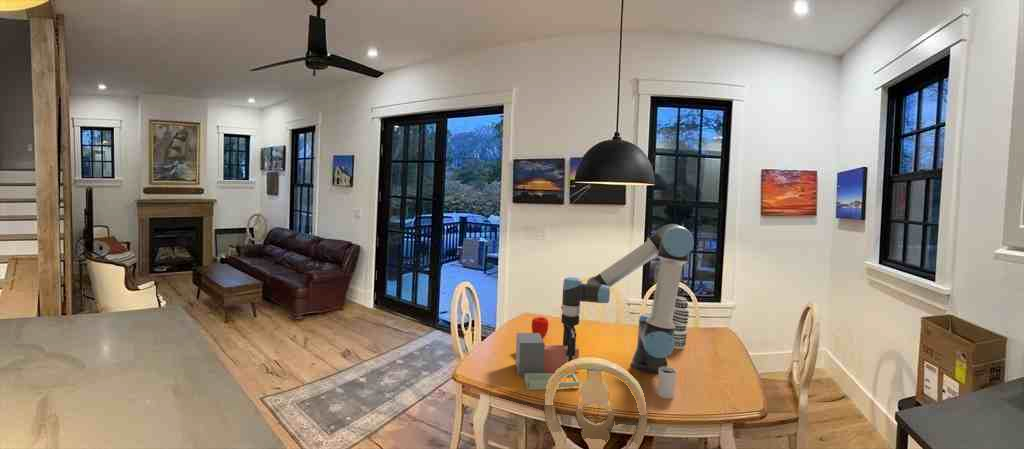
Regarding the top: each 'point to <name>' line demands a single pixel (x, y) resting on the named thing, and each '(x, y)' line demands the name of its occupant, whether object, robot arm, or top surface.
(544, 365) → the pink rectangular box
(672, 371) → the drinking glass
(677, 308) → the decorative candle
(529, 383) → the tray
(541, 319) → the apple
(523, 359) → the dispenser
